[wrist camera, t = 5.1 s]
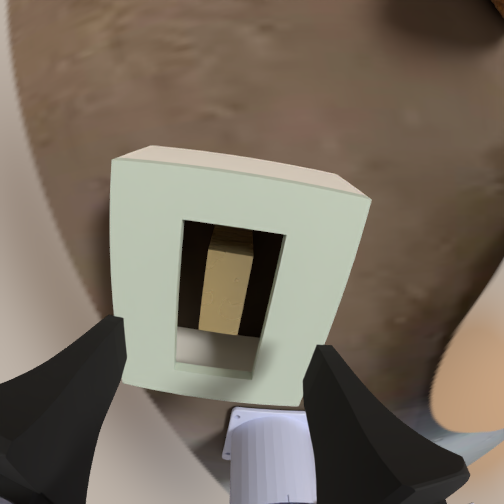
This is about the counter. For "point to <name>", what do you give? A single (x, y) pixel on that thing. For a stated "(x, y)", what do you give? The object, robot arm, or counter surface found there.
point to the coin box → (236, 215)
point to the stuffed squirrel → (499, 6)
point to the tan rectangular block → (226, 279)
